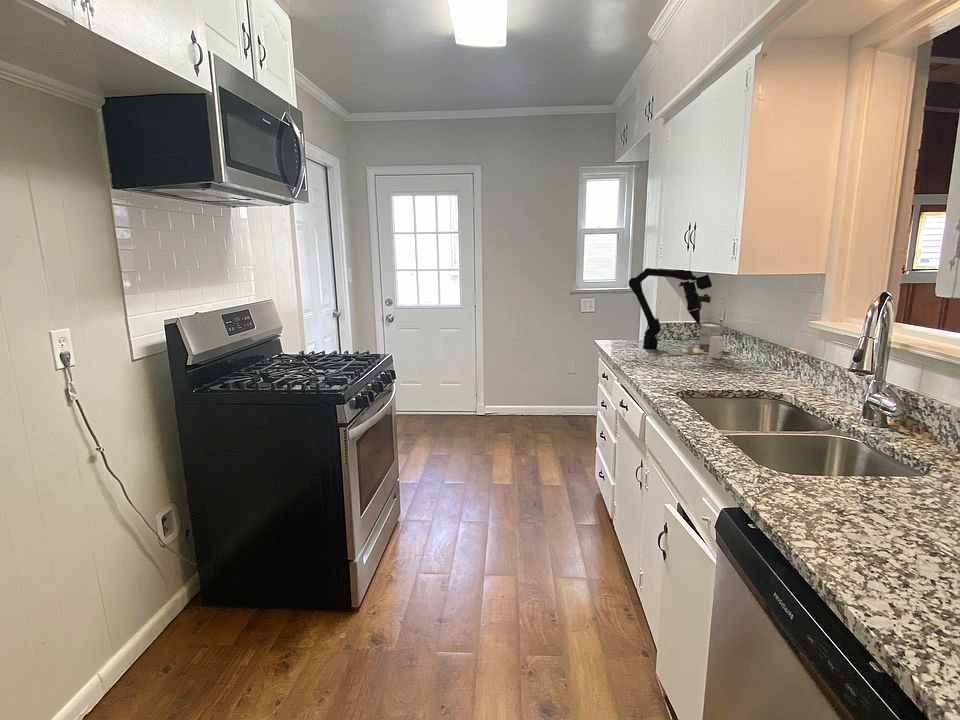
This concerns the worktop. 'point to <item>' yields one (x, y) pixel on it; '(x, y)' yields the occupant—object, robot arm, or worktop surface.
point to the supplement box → (708, 333)
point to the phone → (673, 353)
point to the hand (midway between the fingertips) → (698, 322)
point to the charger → (715, 347)
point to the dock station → (696, 349)
